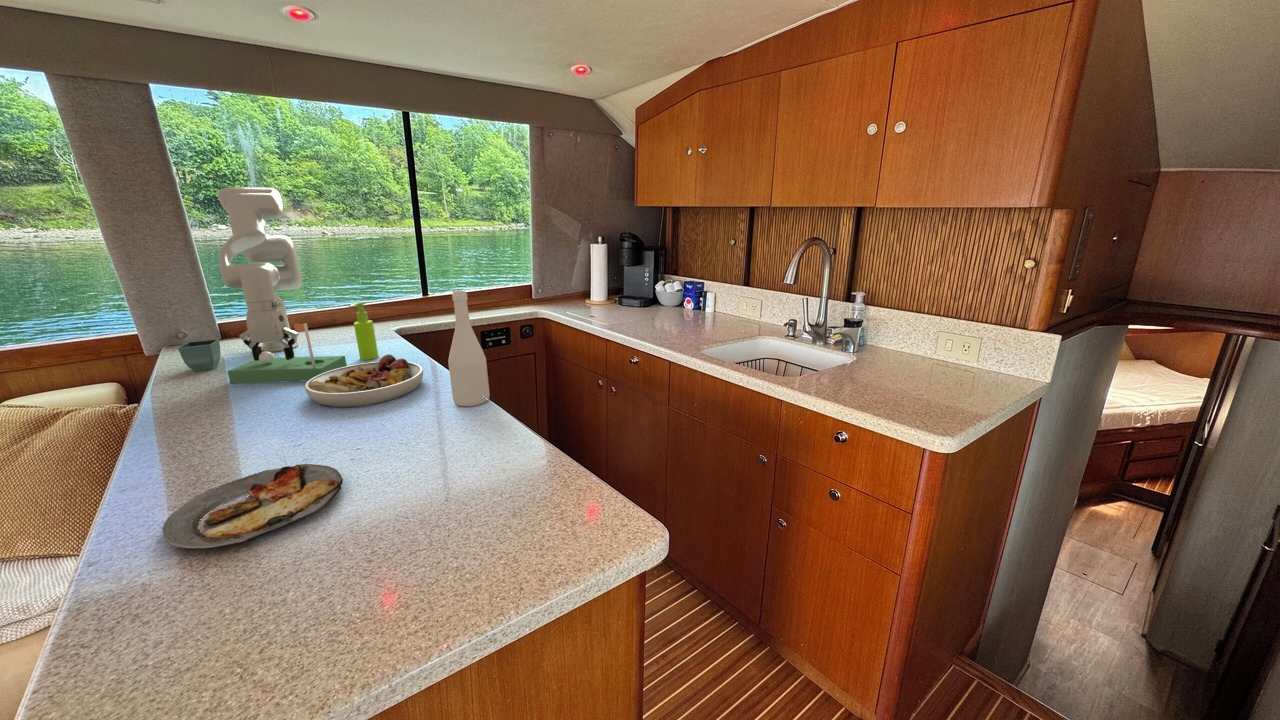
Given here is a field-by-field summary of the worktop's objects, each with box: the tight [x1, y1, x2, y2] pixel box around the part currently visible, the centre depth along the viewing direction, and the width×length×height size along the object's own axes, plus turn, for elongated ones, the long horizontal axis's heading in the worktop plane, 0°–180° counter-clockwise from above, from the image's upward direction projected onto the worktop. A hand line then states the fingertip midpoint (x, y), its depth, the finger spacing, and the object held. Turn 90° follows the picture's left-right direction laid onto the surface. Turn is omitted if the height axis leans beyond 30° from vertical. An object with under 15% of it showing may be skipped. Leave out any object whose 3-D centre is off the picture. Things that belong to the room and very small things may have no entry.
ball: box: [259, 351, 275, 364], centre depth 158 cm, size 4×4×4 cm
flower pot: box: [177, 339, 221, 372], centre depth 167 cm, size 9×9×9 cm
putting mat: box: [227, 323, 348, 384], centre depth 158 cm, size 14×28×18 cm, turn 93°
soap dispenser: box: [348, 301, 379, 361], centre depth 175 cm, size 6×7×20 cm
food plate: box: [161, 463, 344, 550], centre depth 86 cm, size 25×23×4 cm
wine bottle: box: [447, 290, 491, 408], centre depth 131 cm, size 10×10×30 cm
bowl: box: [304, 354, 424, 408], centre depth 144 cm, size 30×30×8 cm
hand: (274, 359), depth 158 cm, fingers open, 9 cm apart
